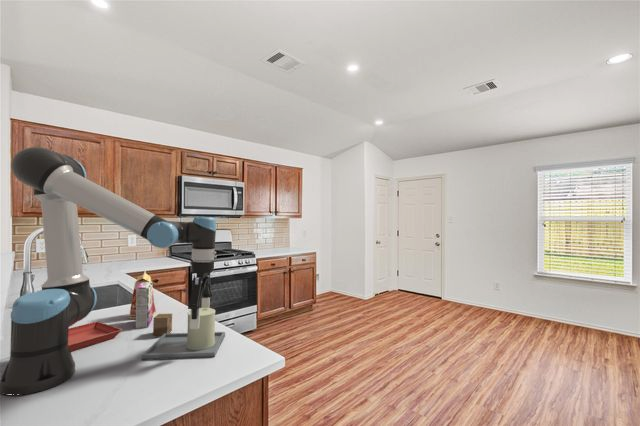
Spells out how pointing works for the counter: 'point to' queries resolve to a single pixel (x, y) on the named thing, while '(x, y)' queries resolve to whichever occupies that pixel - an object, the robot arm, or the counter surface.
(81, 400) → the counter surface
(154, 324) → the walnut block
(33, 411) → the counter surface
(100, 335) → the plant saucer
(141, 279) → the milk carton
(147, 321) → the candy bar box
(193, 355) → the tray
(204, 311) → the can
